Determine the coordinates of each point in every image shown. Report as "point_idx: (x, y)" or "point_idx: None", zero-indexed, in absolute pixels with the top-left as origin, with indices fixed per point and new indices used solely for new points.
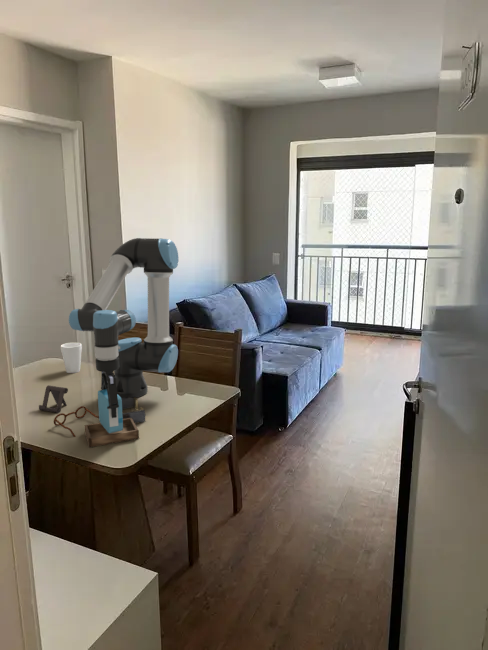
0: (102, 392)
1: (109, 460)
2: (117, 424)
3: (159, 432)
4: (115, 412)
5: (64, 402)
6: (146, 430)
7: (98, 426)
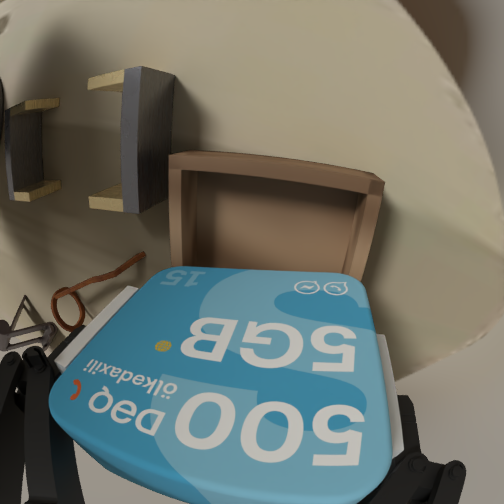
0: (148, 488)
1: (450, 336)
2: (384, 345)
3: (352, 50)
4: (414, 431)
5: (21, 304)
6: (291, 97)
7: None
